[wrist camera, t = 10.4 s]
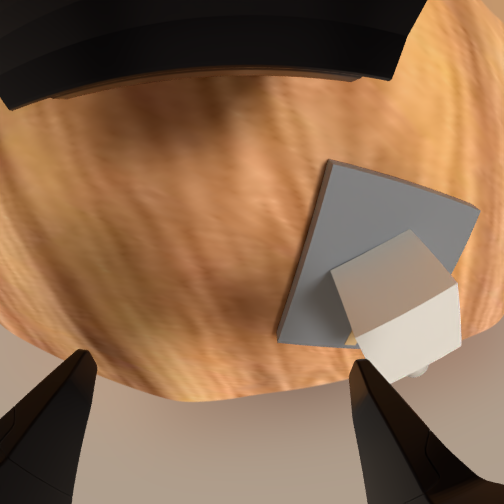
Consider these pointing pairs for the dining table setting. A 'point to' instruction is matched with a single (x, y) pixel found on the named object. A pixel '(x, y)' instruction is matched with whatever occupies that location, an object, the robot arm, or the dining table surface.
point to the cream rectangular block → (400, 306)
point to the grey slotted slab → (363, 243)
